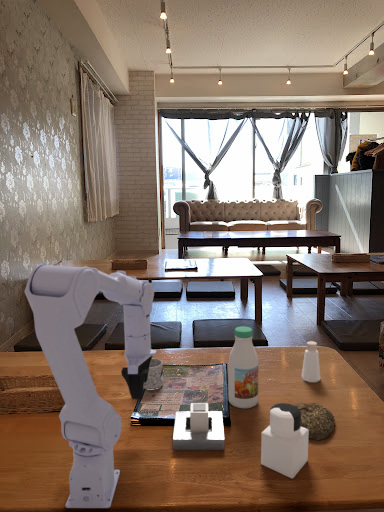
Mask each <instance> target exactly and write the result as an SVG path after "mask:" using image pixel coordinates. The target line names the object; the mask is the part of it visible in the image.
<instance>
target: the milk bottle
mask: <svg viewBox="0 0 384 512" xmlns="http://www.w3.org/2000/svg"><path fill="white" fill-rule="evenodd" d="M253 333H254V332H253V328H251V327H249V326H243V325H242V326H241V325H240V326H237V327H235V328H234V338H235V341H234V344H233V346H232V349H231V350H230V353H229V357H228V370H227V371H228V374H227V375H228V378H227V379H228V381H227V382H228V390H227V391H228V393H227V394H228V395H227V396H228V401H229V403H230V405H232V406H233V407H234V408H238V409H250V408H253V407H256V406H257V404H258V402H259V358H258V354H257V351H256V349H255V347H254V344H253V340H252V339H253V338H254V337H253V335H254V334H253Z"/></svg>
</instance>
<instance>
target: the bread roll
mask: <svg viewBox="0 0 384 512" xmlns="http://www.w3.org/2000/svg"><path fill="white" fill-rule="evenodd" d="M293 405H294V406H296V407H297V408H298V409H299V410H300V411H301V427H304V428H306V429H308V430H309V436H308V439H309V438H310V439H312V440H317V441H318V440H319V441H320V440H321V441H322V440H324V439H325V438H326V437H329V436H330V434H331V433H332V432H333V431H334V425H335V422H336V419H335V416H334V415H333V413H332V411H330V410H329V408H327V407H324V406H323V405H320V404H318V403H316V402H309V403H305V402H299V403H297V404H293Z"/></svg>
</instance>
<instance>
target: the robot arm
mask: <svg viewBox="0 0 384 512" xmlns="http://www.w3.org/2000/svg"><path fill="white" fill-rule="evenodd" d="M100 292H101V293H102V294H103V296H104V297H105V298H106V299H107V300H108V301H110V302H117V303H118V304H119V305H120V306H122V307H123V327H124V328H123V330H124V358H125V360H126V363H127V366H125V367H122V369H121V371H120V372H121V373H120V374H121V376H122V377H123V379H124V380H125V382H126V384H127V387H128V390H129V394H130V397H131V399H132V400H141V399H142V398H143V394H144V389H143V386H144V383H146V382H147V379H148V372H149V366H150V362H151V359H152V358H153V357H155V356H156V355H157V350H156V349H152V342H151V313H152V310H153V301H154V298H155V297H154V296H155V290H154V286H153V285H152V283H150V281H148V280H143V279H142V280H140V279H137V276H136V275H127V272H126V271H124V270H116V271H115V272H111V273H110V274H107V273H106V272H103V271H101V270H98V268H97V267H89V266H70V265H69V266H68V265H50V264H47V263H40V264H38V265H36V266H34V268H33V269H32V270H31V272H30V274H29V276H28V279H27V282H26V285H25V288H24V294H25V296H26V299H27V302H28V304H29V306H30V308H31V312H32V313H33V321H34V329H35V335H36V338H37V340H38V343H39V345H40V347H41V351H42V352H43V354H44V357H45V359H46V362H47V364H48V366H49V368H50V371H51V373H52V375H53V377H54V380H55V382H56V386H57V387H58V389H59V392H60V394H61V396H62V399H63V401H64V405H63V407H62V408H61V410H60V412H59V415H58V417H59V420H60V424H61V425H60V427H61V428H60V430H61V436H62V438H63V439H64V440H66V441H68V446H69V447H70V448H72V456H73V457H72V458H73V462H72V466H71V469H70V472H69V475H68V483H69V485H68V486H69V496H68V498H67V501H66V502H65V508H67V509H109V508H111V506H112V503H113V500H114V499H113V498H114V496H115V492H116V489H117V488H116V487H117V484H118V481H119V478H120V475H121V474H120V473H121V470H120V469H115V464H114V446H115V445H116V444H117V443H118V441H119V439H120V436H121V433H122V428H123V422H122V418H121V415H120V414H119V412H116V411H115V408H114V406H113V404H111V403H109V402H108V401H106V400H105V399H103V398H102V397H101V396H99V394H98V391H97V388H96V385H95V382H94V381H93V378H92V375H91V372H90V369H89V367H88V364H87V362H86V358H85V355H84V353H83V351H82V347H81V345H80V342H79V340H78V336H77V334H76V331H75V329H76V328H79V327H80V326H81V325H83V324H84V323H85V320H86V317H87V316H88V313H89V311H90V309H91V307H92V305H93V304H94V300H95V298H96V296H97V295H98V294H99V293H100Z"/></svg>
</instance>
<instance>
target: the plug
mask: <svg viewBox="0 0 384 512" xmlns="http://www.w3.org/2000/svg"><path fill="white" fill-rule="evenodd" d="M208 411H209V403H208V402H191V403H190V430H191V432H208Z"/></svg>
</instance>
